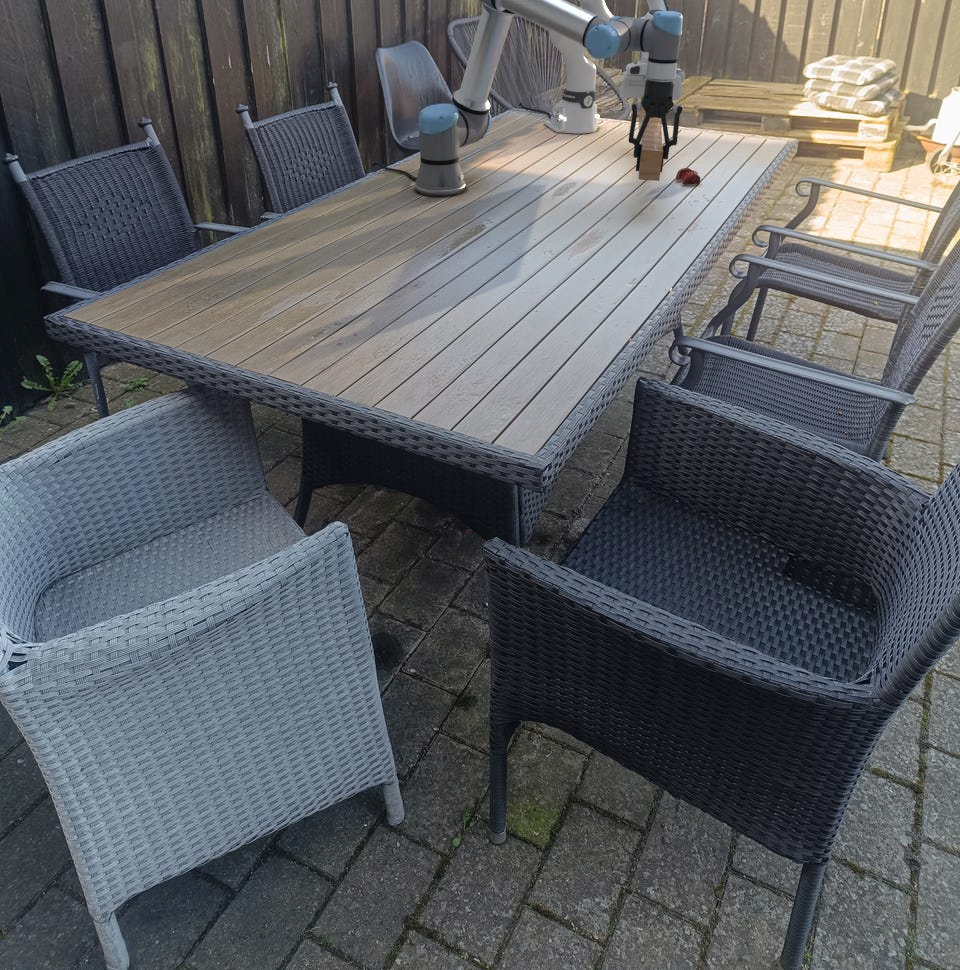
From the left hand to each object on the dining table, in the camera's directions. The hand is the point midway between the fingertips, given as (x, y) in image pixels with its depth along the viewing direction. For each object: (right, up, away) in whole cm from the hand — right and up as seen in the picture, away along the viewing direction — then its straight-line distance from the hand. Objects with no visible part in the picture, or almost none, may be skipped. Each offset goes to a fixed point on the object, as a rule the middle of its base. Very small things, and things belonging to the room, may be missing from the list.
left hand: (648, 170), depth 233 cm
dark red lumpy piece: (+18, +8, +31) cm, 37 cm away
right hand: (+10, +38, +49) cm, 62 cm away
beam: (+5, +17, +25) cm, 31 cm away
